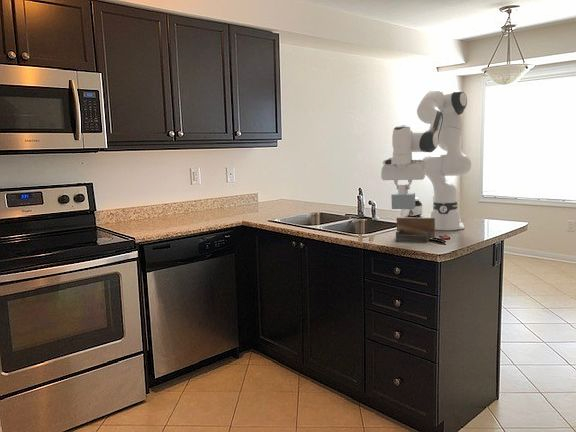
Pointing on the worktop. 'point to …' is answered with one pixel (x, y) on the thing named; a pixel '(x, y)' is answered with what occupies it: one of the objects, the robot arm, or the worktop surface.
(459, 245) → the worktop surface
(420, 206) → the spread jar
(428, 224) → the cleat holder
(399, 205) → the grey stepped block
